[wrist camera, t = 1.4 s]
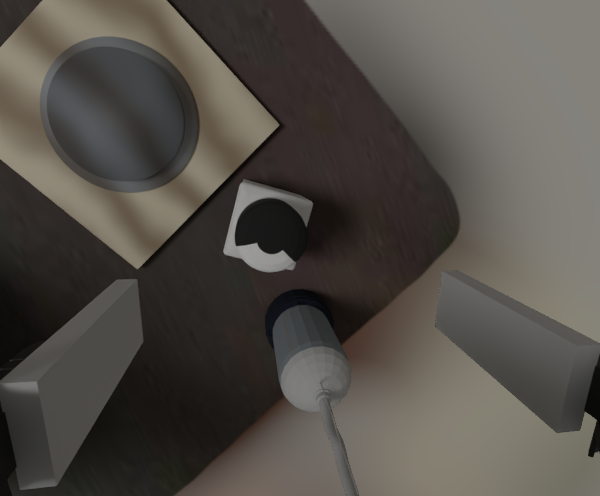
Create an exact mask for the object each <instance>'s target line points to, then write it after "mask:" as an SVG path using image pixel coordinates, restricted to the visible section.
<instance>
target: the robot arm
mask: <svg viewBox="0 0 600 496" xmlns="http://www.w3.org/2000/svg"><path fill="white" fill-rule="evenodd" d="M435 327H436V328H438V329H439V330H440V331H441V332H442V333H443V334H444V335H446V336H447V337H448V338H449V339H450V340H451V341H452V342H453V343H455V344H456V345H457V346H458V347H459V348H461V349H462V350H463V351H464V352H465V353H466V354H467V355H468V356H470V357H471V358H472V359H473V360H474V361H475V362H476V363H477V364H479V365H480V366H481V367H482V368H483V369H484V370H486V371H487V372H488V373H489V374H490V375H491V376H492V377H493V378H495V379H496V380H497V381H498V382H499V383H501V385H503V386H504V387H505V388H506V389H507V390H508V391H510V392H511V393H512V394H513V395H514V396H515V397H516V398H517V399H519V400H520V401H521V402H522V403H523V404H524V405H526V406H527V407H528V408H529V409H530V410H531V411H532V412H534V413H535V414H536V415H537V416H538V417H539V418H540V419H541V420H543V421H544V422H545V423H546V424H547V425H548V426H550V427H551V428H552V429H553V430H554V431H555V432H556V433H560V432H569V431H579V430H580V429H581V425H582V421H583V417H584V413H585V412H587V413H588V414H590V415H591V416H592V417H594V418H595V419H596V420H597V422H596V426H595V429H594V433H593V437H592V441H591V444H590V448H589V453H588V456H590V457H593V456H594V453H595V452H598V451H599V452H600V343H598V342H596V341H594V340H592V339H590V338H588V337H586V336H584V335H582V334H581V333H578V332H577V331H575V330H573V329H571V328H569V327H567V326H565V325H563V324H561V323H559V322H557V321H555V320H553V319H551V318H549V317H547V316H545V315H543V314H541V313H539V312H538V311H535V310H534V309H531V308H530V307H528V306H526V305H524V304H522V303H520V302H518V301H516V300H514V299H512V298H510V297H508V296H506V295H504V294H502V293H500V292H498V291H496V290H495V289H493V288H491V287H489V286H487V285H485V284H483V283H481V282H479V281H477V280H475V279H473V278H471V277H469V276H467V275H465V274H463V273H461V272H459V271H442V275H441V283H440V290H439V298H438V306H437V315H436V323H435ZM142 343H143V333H142V323H141V313H140V303H139V293H138V283H137V279H125V280H116V281H115V282H113V283H112V284H111V285H110V286H109V287H108V288H107V289H105V290H104V291H103V292H102V293H101V294H100V295H98V296H97V297H96V298H95V299H94V300H93V301H92V302H90V303H89V304H88V305H87V306H86V307H85V308H84V309H82V310H81V311H80V312H79V313H78V314H77V315H75V316H74V317H73V318H72V319H71V320H70V321H69V322H67V323H66V324H65V325H64V326H63V327H62V328H60V329H59V330H58V331H57V332H56V333H55V334H54V335H52V336H51V337H50V338H49V339H48V340H40V341H38V342H36V343H34V344H32V345H30V346H28V347H26V348H24V349H22V350H21V351H20V352H19V353H17V354H16V355H15V356H14V357H12V358H11V359H10V360H9V362H6V363H5V364H4V365H3V366H1V367H0V496H12V494H11V491H10V488H9V485H8V481H7V479H8V478H9V476H10V475H11V474H12V472H13V471H14V470H16V475H17V479H18V484H19V488H20V490H23V489H33V488H42V487H52V486H57V484H58V483H59V481H60V479H61V478H62V476H63V474H64V473H65V471H66V469H67V468H68V466H69V464H70V463H71V461H72V459H73V458H74V456H75V454H76V453H77V451H78V449H79V448H80V446H81V444H82V443H83V441H84V439H85V438H86V436H87V435H88V433H89V431H90V430H91V428H92V426H93V425H94V423H95V421H96V420H97V418H98V416H99V415H100V413H101V411H102V410H103V408H104V406H105V405H106V403H107V401H108V400H109V398H110V396H111V395H112V393H113V391H114V390H115V388H116V386H117V385H118V383H119V381H120V380H121V378H122V376H123V375H124V373H125V371H126V370H127V368H128V366H129V365H130V363H131V361H132V360H133V358H134V356H135V355H136V353H137V351H138V350H139V348H140V346H141V345H142Z"/></svg>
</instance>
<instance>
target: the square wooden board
mask: <svg viewBox="0 0 600 496" xmlns="http://www.w3.org/2000/svg"><path fill="white" fill-rule="evenodd" d="M278 126H279V124H278V123H277V121H276V120H275V119H274V118H273V117H272V116H271V115H270V114H269V113H268V111H267V110H266V109H265V108H264V107H263V106H262V105H261V104H260V103H259V102H258V100H257V99H256V98H255V97H254V96H253V95H252V94H251V93H250V92H249V91H248V89H247V88H246V87H245V86H244V85H243V84H242V83H241V82H240V81H239V80H238V78H237V77H236V76H235V75H234V74H233V73H232V72H231V71H230V70H229V68H228V67H227V66H226V65H225V64H224V63H223V62H222V61H221V60H220V59H219V57H218V56H217V55H216V54H215V53H214V52H213V51H212V50H211V49H210V48H209V46H208V45H207V44H206V43H205V42H204V41H203V40H202V39H201V38H200V37H199V35H198V34H197V33H196V32H195V31H194V30H193V29H192V28H191V27H190V26H189V24H188V23H187V22H186V21H185V20H184V19H183V18H182V17H181V16H180V14H179V13H178V12H177V11H176V10H175V9H174V8H173V7H172V6H171V5H170V3H169V2H168V1H167V0H42V2H41V3H40V4H39V5H38V6H37V7H36V8H35V9H34V10H33V12H32V13H31V14H30V15H29V16H28V17H27V18H26V19H25V21H24V22H23V23H22V24H21V25H20V26H19V27H18V28H17V29H16V31H15V32H14V33H13V34H12V35H11V36H10V37H9V38H8V40H7V41H6V42H5V43H4V44H3V45H2V46H1V47H0V159H1V160H2V161H3V162H5V163H6V164H7V165H8V166H10V167H11V168H12V169H13V170H15V171H16V172H17V173H18V174H20V175H21V176H22V177H23V178H25V179H26V180H27V181H28V182H30V183H31V184H32V185H33V186H34V187H36V188H37V189H38V190H39V191H41V192H42V193H43V194H44V195H46V196H47V197H48V198H49V199H51V200H52V201H53V202H54V203H56V204H57V205H58V206H59V207H61V208H62V209H63V210H64V211H66V212H67V213H68V214H69V215H70V216H72V217H73V218H74V219H75V220H77V221H78V222H79V223H80V224H82V225H83V226H84V227H85V228H87V229H88V230H89V231H90V232H92V233H93V234H94V235H95V236H97V237H98V238H99V239H100V240H102V241H103V242H104V243H105V244H107V245H108V246H109V247H110V248H111V249H113V250H114V251H115V252H116V253H118V254H119V255H120V256H121V257H123V258H124V259H125V260H126V261H128V262H129V263H130V264H131V265H133V266H134V267H135V268H136V269H139V268H140V267H141V266H142V265H143V264H144V263H145V262H146V261H147V260H148V259H149V258H150V257H151V256H152V255H153V254H154V252H155V251H156V250H157V249H158V248H159V247H160V246H161V245H162V244H163V243H164V242H165V241H166V240H167V239H168V238H169V237H170V236H171V235H172V234H173V233H174V232H175V231H176V230H177V229H178V228H179V227H180V226H181V225H182V224H183V223H184V222H185V221H186V220H187V219H188V218H189V217H190V216H191V215H192V214H193V213H194V212H195V211H196V210H197V209H198V208H199V207H200V206H201V205H202V204H203V203H204V202H205V201H206V200H207V199H208V198H209V196H210V195H211V194H212V193H213V192H214V191H215V190H216V189H217V188H218V187H219V186H220V185H221V184H222V183H223V182H224V181H225V180H226V179H227V178H228V177H229V176H230V175H231V174H232V173H233V172H234V171H235V170H236V169H237V168H238V167H239V166H240V165H241V164H242V163H243V162H244V161H245V160H246V159H247V158H248V157H249V156H250V155H251V154H252V153H253V152H254V151H255V150H256V149H257V148H258V147H259V146H260V145H261V144H262V143H263V142H264V140H265V139H266V138H267V137H268V136H269V135H270V134H271V133H272V132H273V131H274V130H275V129H276V128H277V127H278Z"/></svg>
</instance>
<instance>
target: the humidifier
mask: <svg viewBox="0 0 600 496" xmlns="http://www.w3.org/2000/svg"><path fill="white" fill-rule="evenodd" d="M265 327H266V335H267V337H268V340H269V343H270V345H271V347H272V348H273V349H274V350H275V356H276V363H277V370H278V377H279V382H280V385H281V388H282V391H283V394H284V396H285V397H286V398H287V399H288V401H289V402H290V403H291V404H292V405H294V406H295V407H297V408H299V409H300V410H302V411H307V412H321V415H322V420H323V424H324V427H325V430H326V433H327V436H328V438H329V440H330V442H331V444H332V447H333V451H334V456H335V460H336V464H337V468H338V472H339V475H340V478H341V481H342V484H343V488H344V491H345V494H346V496H359V493H358V490H357V487H356V484H355V481H354V478H353V475H352V472H351V469H350V465H349V461H348V457H347V453H346V449H345V445H344V442H343V439H342V437H341V435H340V433H339V431H338V429H337V427H336V423H335V420H334V417H333V413H332V409H331V408H333V407H334V406H335V405H337V404H338V403H339V402H340V401H341V400H342V399H343V398H344V396H345V395H346V393H347V391H348V389H349V386H350V382H351V369H350V365H349V362H348V359H347V356H346V354H345V352H344V351H343V349H342V347H341V345H340V343H339V341H338V339H337V337H336V335H335V333H334V331H333V320H332V316H331V313H330V311H329V309H328V307H327V305H326V304H325V303H324V301H323V300H322V298H321V297H319V296H318V295H316V294H315V293H314V292H311V291H307V290H304V289H298V290H290V291H288V292H285V293H282V294H281V295H280V296H278V297H277V298H275V299H274V301H273V302H272V303H271V304H270V306H269V307H268V310H267V313H266V316H265Z"/></svg>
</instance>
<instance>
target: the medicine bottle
mask: <svg viewBox="0 0 600 496" xmlns="http://www.w3.org/2000/svg"><path fill="white" fill-rule="evenodd" d="M312 207H313V202H312V201H310V200H308V199H307V198H305V197H303V196H301V195H299V194H295V193H292V192H288V191H285V190H281V189H278V188H274V187H271V186H267V185H263V184H260V183H256V182H253V181H249V180H246V179H243V180H242V181H241V183H240V186H239V190H238V194H237V198H236V202H235V206H234V210H233V214H232V218H231V222H230V226H229V230H228V234H227V238H226V242H225V246H224V250H223V251H224V254H225V255H228V256H232V257H237V258H241V259H243V260H244V261H245V262H246V263H247V264H248V265H249V266H251V267H253V268H255V269H257V270H260V271H264V272H277V271H281V270H284V269H288V270H293V269H294V268H295V265H296V262H297V260H298V259H299V258H300V257H301V255H302V254H303V252H304V250H305V247H306V243H307V229H306V227H307V224H308V221H309V217H310V214H311V210H312Z"/></svg>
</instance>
